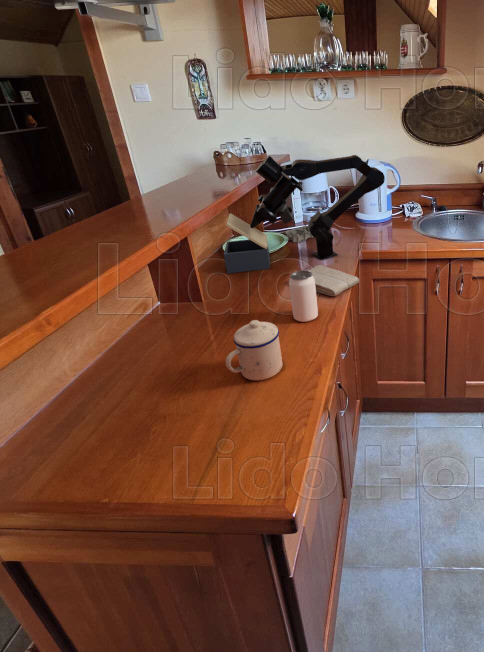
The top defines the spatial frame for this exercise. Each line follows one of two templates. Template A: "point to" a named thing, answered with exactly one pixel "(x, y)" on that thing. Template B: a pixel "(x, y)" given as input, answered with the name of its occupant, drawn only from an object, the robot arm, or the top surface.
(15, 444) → the top surface
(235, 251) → the toy box
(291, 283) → the can
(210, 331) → the top surface
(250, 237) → the lid
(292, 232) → the egg carton
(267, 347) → the teacup with lid
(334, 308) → the top surface
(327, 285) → the washcloth
